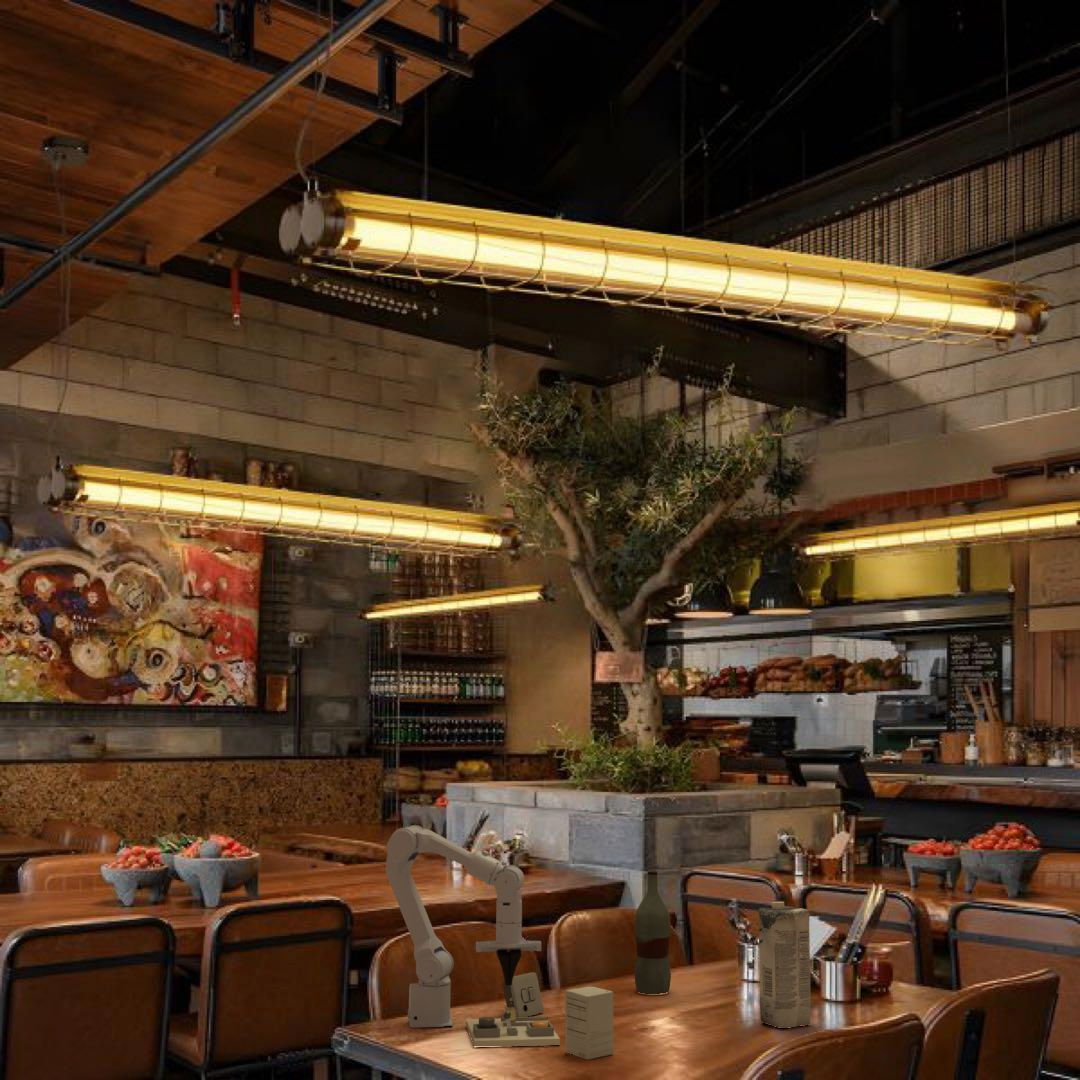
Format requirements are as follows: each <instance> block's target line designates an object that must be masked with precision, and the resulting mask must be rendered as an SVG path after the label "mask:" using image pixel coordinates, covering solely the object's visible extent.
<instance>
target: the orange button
mask: <svg viewBox="0 0 1080 1080" xmlns="http://www.w3.org/2000/svg"><path fill="white" fill-rule="evenodd" d="M542 1027H548V1022H546V1021H534V1022H532V1028H542Z"/></svg>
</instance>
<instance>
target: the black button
mask: <svg viewBox="0 0 1080 1080" xmlns="http://www.w3.org/2000/svg"><path fill="white" fill-rule="evenodd" d="M478 1019H479V1027H480V1028H494V1027H495V1019H496V1018H495V1017H492V1016H483V1017H479V1018H478Z"/></svg>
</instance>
